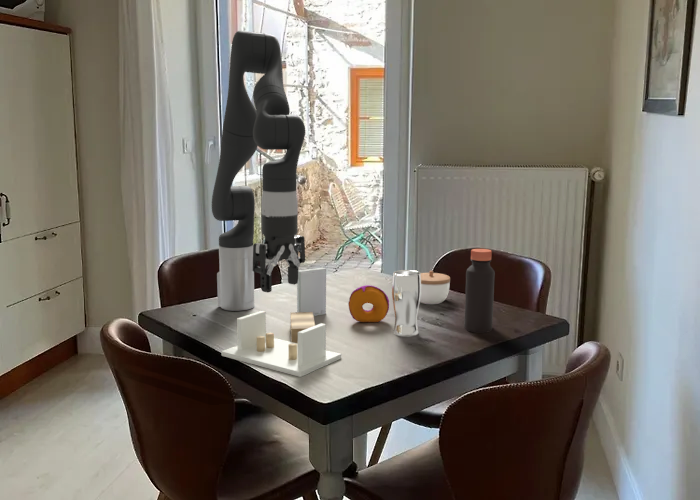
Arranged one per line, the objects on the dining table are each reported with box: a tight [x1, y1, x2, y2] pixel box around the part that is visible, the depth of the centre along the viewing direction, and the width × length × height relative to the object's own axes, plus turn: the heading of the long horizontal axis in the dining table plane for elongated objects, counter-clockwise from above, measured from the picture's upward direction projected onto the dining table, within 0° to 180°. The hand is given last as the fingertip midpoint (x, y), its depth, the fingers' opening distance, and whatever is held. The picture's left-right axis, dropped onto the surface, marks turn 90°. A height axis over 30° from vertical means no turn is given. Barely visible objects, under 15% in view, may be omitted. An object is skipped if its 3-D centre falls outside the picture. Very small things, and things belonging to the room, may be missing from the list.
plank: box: [289, 311, 316, 343], centre depth 168 cm, size 14×6×4 cm, turn 6°
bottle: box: [463, 248, 496, 334], centre depth 171 cm, size 7×7×20 cm
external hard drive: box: [296, 267, 327, 317], centre depth 184 cm, size 2×8×12 cm, turn 123°
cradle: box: [221, 310, 342, 378], centre depth 152 cm, size 22×14×8 cm, turn 55°
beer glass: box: [391, 269, 422, 338], centre depth 169 cm, size 7×7×15 cm
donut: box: [348, 284, 390, 323], centre depth 178 cm, size 8×9×10 cm
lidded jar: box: [420, 270, 451, 305], centre depth 198 cm, size 11×11×9 cm
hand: (279, 287), depth 150 cm, fingers open, 8 cm apart
